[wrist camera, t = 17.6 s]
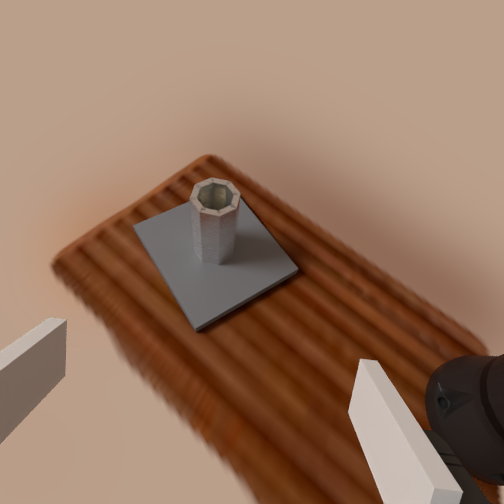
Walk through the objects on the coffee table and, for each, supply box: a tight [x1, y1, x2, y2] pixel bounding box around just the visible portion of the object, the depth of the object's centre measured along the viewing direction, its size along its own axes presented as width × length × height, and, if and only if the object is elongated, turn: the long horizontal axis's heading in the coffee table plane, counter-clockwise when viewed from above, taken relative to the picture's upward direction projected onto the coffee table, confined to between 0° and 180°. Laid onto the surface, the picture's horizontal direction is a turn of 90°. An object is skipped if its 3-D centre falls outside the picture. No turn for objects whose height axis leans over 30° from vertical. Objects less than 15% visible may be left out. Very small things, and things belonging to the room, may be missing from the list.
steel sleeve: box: [190, 178, 240, 265], centre depth 50 cm, size 6×6×12 cm
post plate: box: [133, 198, 298, 332], centre depth 52 cm, size 20×18×10 cm
